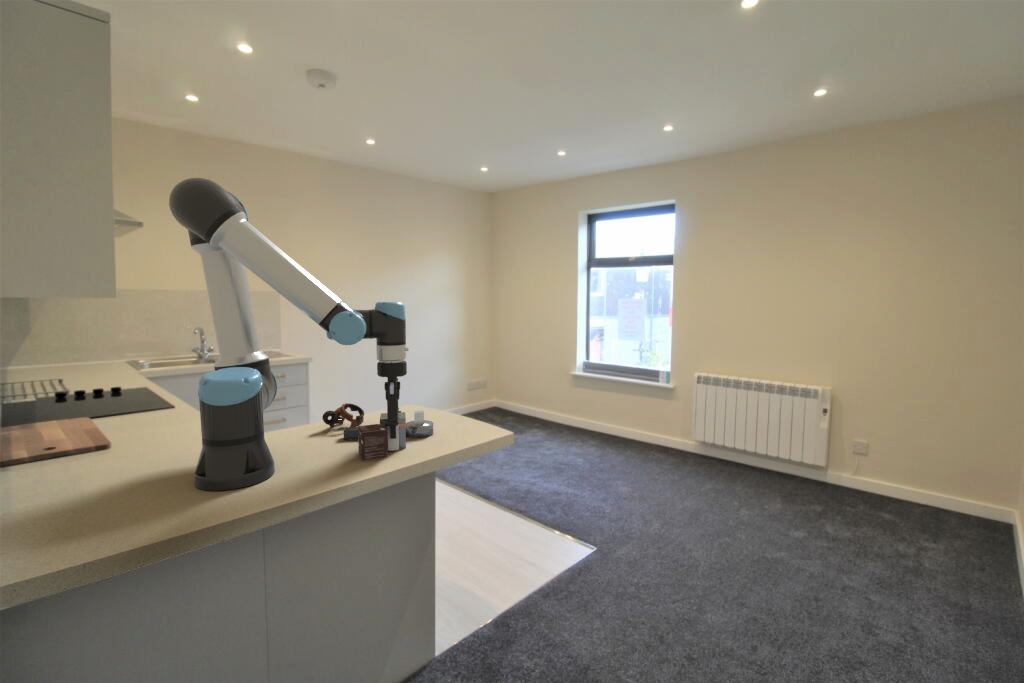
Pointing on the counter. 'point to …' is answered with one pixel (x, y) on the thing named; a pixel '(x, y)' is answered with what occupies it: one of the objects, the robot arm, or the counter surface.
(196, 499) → the counter surface
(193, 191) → the robot arm
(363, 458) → the box
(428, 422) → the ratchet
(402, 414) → the orange-striped grey cube
